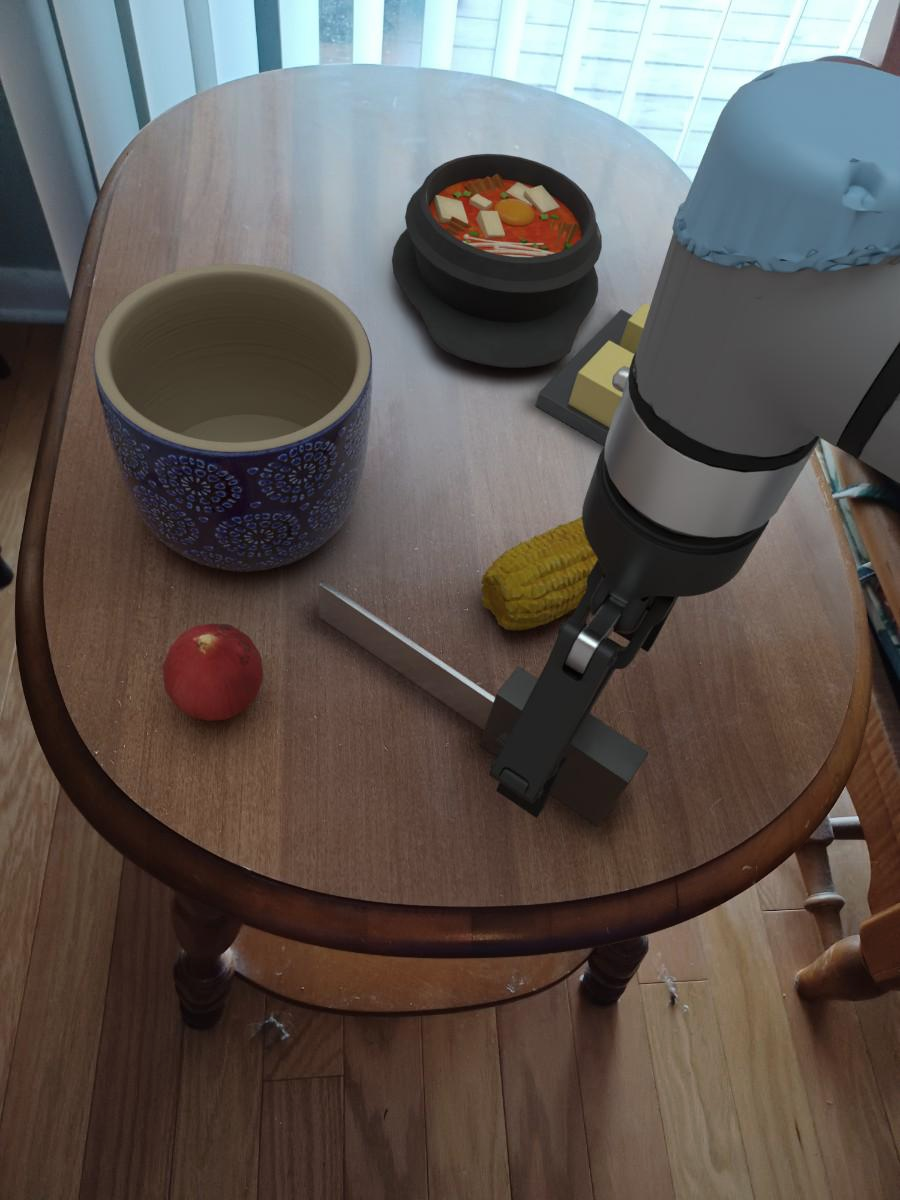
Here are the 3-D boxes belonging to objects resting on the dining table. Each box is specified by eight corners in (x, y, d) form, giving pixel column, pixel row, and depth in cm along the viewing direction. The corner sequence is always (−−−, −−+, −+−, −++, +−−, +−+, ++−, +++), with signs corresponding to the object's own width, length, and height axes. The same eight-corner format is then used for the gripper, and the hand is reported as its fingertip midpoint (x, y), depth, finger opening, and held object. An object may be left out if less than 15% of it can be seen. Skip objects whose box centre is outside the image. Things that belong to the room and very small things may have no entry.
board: (714, 375, 83) (720, 362, 82) (639, 466, 76) (644, 454, 75) (616, 322, 86) (621, 308, 84) (535, 406, 78) (538, 392, 77)
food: (510, 658, 65) (527, 611, 60) (464, 598, 67) (476, 548, 62) (728, 537, 73) (758, 487, 68) (680, 488, 75) (706, 436, 70)
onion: (211, 645, 62) (199, 576, 56) (283, 689, 61) (279, 624, 55) (152, 711, 59) (132, 646, 53) (226, 758, 58) (215, 698, 52)
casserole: (608, 392, 80) (636, 313, 73) (388, 376, 78) (396, 293, 71) (579, 212, 94) (600, 131, 87) (391, 194, 92) (398, 109, 85)
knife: (616, 798, 60) (649, 752, 54) (597, 827, 59) (629, 783, 53) (331, 603, 65) (333, 542, 60) (308, 626, 64) (308, 566, 58)
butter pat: (683, 361, 81) (697, 329, 79) (667, 380, 80) (681, 348, 77) (632, 334, 83) (644, 302, 80) (616, 352, 81) (628, 319, 78)
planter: (137, 423, 72) (101, 257, 60) (355, 422, 75) (364, 263, 63) (123, 606, 63) (78, 455, 51) (371, 597, 66) (385, 451, 54)
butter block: (649, 401, 78) (662, 369, 75) (620, 434, 76) (632, 403, 73) (598, 372, 79) (609, 339, 77) (567, 404, 77) (577, 372, 74)
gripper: (730, 290, 47) (622, 551, 64) (444, 627, 34) (406, 839, 51) (873, 359, 45) (721, 609, 62) (627, 743, 32) (523, 922, 49)
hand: (579, 713), depth 57 cm, fingers open, 13 cm apart
